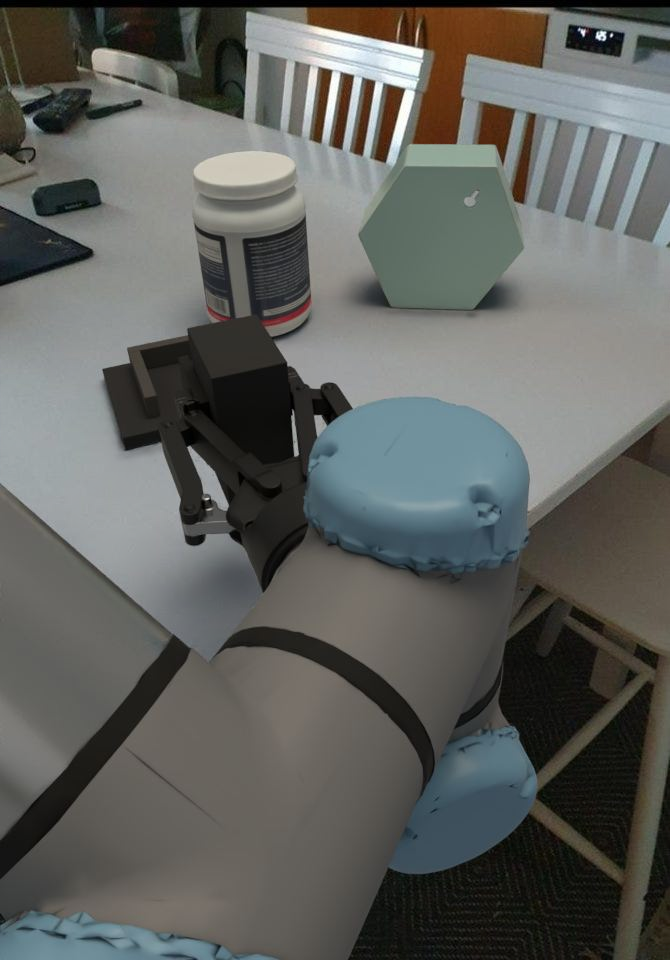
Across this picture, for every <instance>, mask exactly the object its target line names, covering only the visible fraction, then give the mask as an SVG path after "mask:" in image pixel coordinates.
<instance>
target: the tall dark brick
mask: <svg viewBox="0 0 670 960" xmlns="http://www.w3.org/2000/svg"><path fill="white" fill-rule="evenodd" d="M186 331H187V335H188V338H189V344H190V350H191V356H192V362H193V368H194V370H195V372H196V374H197V377H198V379H199V381H200V383H201V385H202V388H203V390H204V392H205V394H206V396H207V399H208V401H209V406H210V412H211V419H212V421H213V422H214V423H215V424H216V425H217V426H218V427H219V428H220V429H221V430H222V431H223V432H224V433H225V434H226V435H227V436H228V437H229V438H230V439H231V440H232V441H233V442H234V443H235V444H236V445H238V446H239V447H240V448H241V449H242V450H243V451H244V452H245V453H249V452H250V453H252V454H253V455H254V456H255V457H256V458H257V459H258V460H259V461H260V462H261V463H262V464H270V463H280V462H282V461H284V460H287V459H289V458H291V457H295V445H294V433H293V420H292V419H293V418H292V416H291V405H290V392H289V379H288V366H289V365H288V362H287V360H286V358H285V356H284V355H283V353H282V352H281V351H280V349H279V347H278V346H277V344H276V343H275V341H274V340H273V338H272V337H271V336H270V335H269V333H268V331H267V330H266V328H265V327H264V325H263V324H262V322H261V320H260V319H259V317H258V316H257V315H251V316H246V317H241V318H236V319H231V320H226V321H221V322H216V323H212V322H211V323H206V324H201V325H196V326H191V327H186ZM214 473H215V476H216V479H217V481H218V484H219V485H220V488H221V490H222V493H223V495H224V498H225V500H226V502H227V505H228V507H229V506H230V504H231V502H232V500H233V498H234V497H235V493H234V491H233V490H232V489H231V488H230V487H229V486H228V485H227V484H226V483H225V482H224V481H223V480H222V479H221V478H220V477H219V476H218V475H217V474H216V472H215V471H214Z"/></svg>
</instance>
